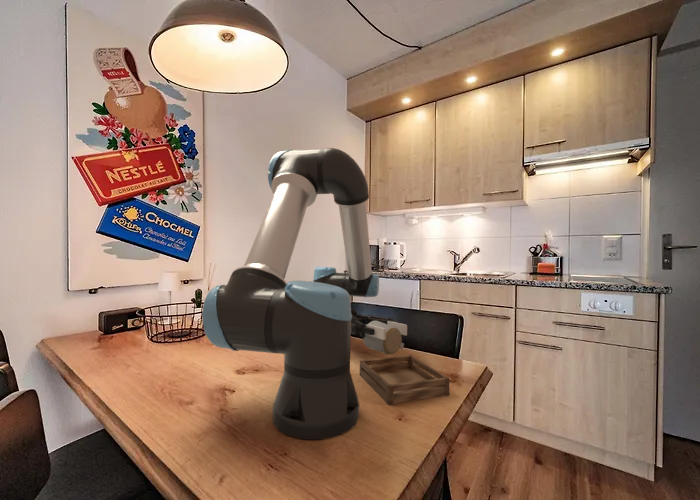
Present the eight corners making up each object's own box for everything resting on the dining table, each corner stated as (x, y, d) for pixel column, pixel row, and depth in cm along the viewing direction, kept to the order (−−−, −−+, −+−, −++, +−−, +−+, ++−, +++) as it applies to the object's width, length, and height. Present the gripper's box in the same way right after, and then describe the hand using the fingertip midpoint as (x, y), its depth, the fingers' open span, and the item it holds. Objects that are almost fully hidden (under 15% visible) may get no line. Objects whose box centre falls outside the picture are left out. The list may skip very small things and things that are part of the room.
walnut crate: (388, 404, 60) (388, 386, 60) (359, 374, 74) (359, 360, 74) (449, 395, 64) (449, 378, 64) (410, 368, 79) (411, 355, 79)
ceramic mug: (384, 358, 78) (385, 327, 78) (362, 350, 84) (363, 321, 84) (411, 351, 85) (412, 322, 85) (388, 344, 91) (389, 318, 91)
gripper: (365, 326, 104) (420, 340, 86) (313, 334, 91) (366, 353, 74) (365, 303, 104) (420, 313, 87) (314, 308, 92) (367, 321, 74)
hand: (395, 332), depth 80 cm, fingers closed on ceramic mug, 7 cm apart
